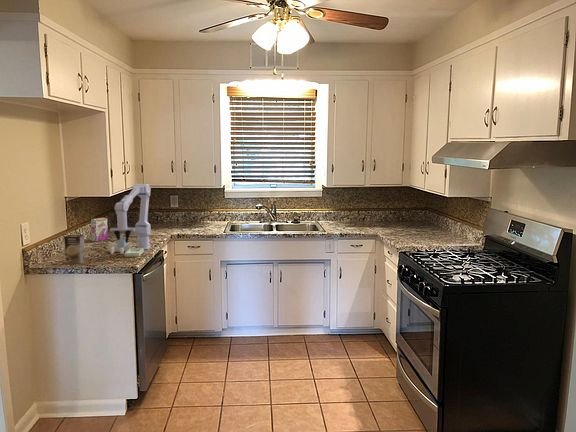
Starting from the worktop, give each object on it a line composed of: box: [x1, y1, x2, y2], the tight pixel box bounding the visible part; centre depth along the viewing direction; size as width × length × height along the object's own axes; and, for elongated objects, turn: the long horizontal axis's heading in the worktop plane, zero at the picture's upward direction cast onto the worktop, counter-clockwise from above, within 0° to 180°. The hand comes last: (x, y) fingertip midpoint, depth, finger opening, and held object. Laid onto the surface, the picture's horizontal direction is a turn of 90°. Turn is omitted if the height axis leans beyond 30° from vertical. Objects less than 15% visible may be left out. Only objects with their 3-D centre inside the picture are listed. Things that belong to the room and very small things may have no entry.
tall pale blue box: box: [116, 233, 129, 248], centre depth 279 cm, size 10×4×8 cm, turn 6°
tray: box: [124, 247, 145, 258], centre depth 285 cm, size 15×9×2 cm, turn 6°
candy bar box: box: [90, 217, 109, 242], centre depth 330 cm, size 11×5×16 cm, turn 152°
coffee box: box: [64, 234, 86, 264], centre depth 263 cm, size 9×6×16 cm
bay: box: [107, 242, 131, 255], centre depth 291 cm, size 9×13×5 cm
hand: (123, 242), depth 281 cm, fingers closed on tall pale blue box, 4 cm apart
